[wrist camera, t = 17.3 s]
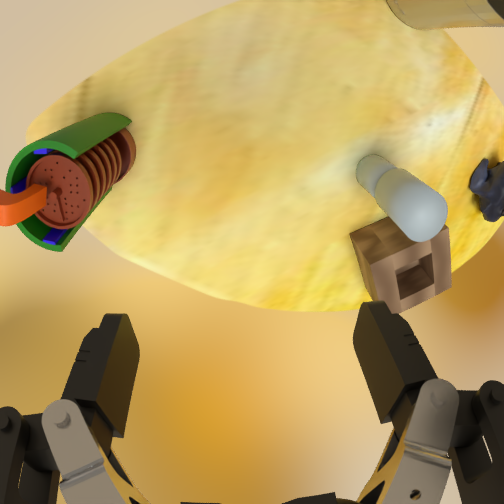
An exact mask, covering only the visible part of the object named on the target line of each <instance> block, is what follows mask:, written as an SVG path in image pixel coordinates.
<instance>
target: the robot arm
mask: <svg viewBox="0 0 504 504" xmlns="http://www.w3.org/2000/svg"><path fill="white" fill-rule="evenodd" d="M387 2H388V4H389V6H390V8H391V10H392V11H393V12H394V13H395V15H396V16H397V17H398V18H399V19H400V20H401V21H403V22H404V23H405V24H407V25H409V26H411V27H413V28H416V29H419V30H430V29H442V28H457V27H489V26H490V27H495V26H496V27H504V0H387ZM353 345H354V349H355V352H356V355H357V358H358V360H359V363H360V366H361V368H362V371H363V374H364V377H365V379H366V382H367V385H368V388H369V390H370V393H371V396H372V399H373V402H374V405H375V408H376V411H377V413H378V417H379V420H380V423H381V424H383V423H387V422H391V421H392V423H393V426H394V428H393V430H392V432H391V435H390V437H389V440H388V442H387V444H386V446H385V449H384V451H383V453H382V456H381V458H380V460H379V463H378V465H377V467H376V469H375V471H374V473H373V475H372V477H371V478H370V480H369V481H368V482H367V484H366V485H365V487H364V489H363V490H362V492H361V494H360V496H359V497H358V499H357V501H352V500H348V499H340V498H336V496H335V492H333V493H327V494H322V495H316V496H309V497H302V498H297V499H294V500H291V501H288V502H285V503H282V504H439V503H440V500H441V498H442V495H443V492H444V489H445V486H446V483H447V479H448V476H449V473H450V470H451V465H452V469H453V472H454V476H455V479H456V483H457V486H458V490H459V493H460V497H461V501H462V504H504V384H502V383H500V382H498V381H493V380H490V381H487V382H485V383H484V384H483V385H482V386H481V388H480V389H479V390H478V391H466V390H464V391H463V390H456V388H455V387H454V386H453V385H452V384H451V383H449V382H448V381H446V380H443V379H439V378H438V377H437V375H436V373H435V371H434V369H433V367H432V366H431V364H430V362H429V360H428V358H427V356H426V354H425V352H424V351H423V349H422V347H421V345H419V341H418V339H417V338H416V336H414V333H413V331H412V329H411V327H410V325H409V324H408V322H407V321H406V320H405V319H403V318H402V317H401V316H400V315H399V314H398V313H394V314H392V313H391V311H390V309H389V308H388V306H387V304H386V303H385V301H383V300H380V301H371V302H363V303H362V304H361V307H360V310H359V314H358V318H357V322H356V326H355V330H354V334H353ZM139 351H140V350H139V344H138V342H137V339H136V336H135V333H134V330H133V328H132V325H131V322H130V319H129V317H128V315H127V314H105V315H104V317H103V319H102V322H101V324H100V327H99V328H93V329H92V330H91V331H90V332H89V333H88V334H87V335H86V336H85V337H84V339H83V341H82V344H81V346H80V349H79V352H78V354H77V356H76V359H75V360H76V361H75V362H74V364H73V367H72V369H71V372H70V375H69V378H68V381H67V383H66V386H65V389H64V392H63V394H62V397H61V399H60V400H57V401H54V402H53V403H51V404H50V405H48V406H47V408H46V409H45V411H44V412H43V413H39V414H32V415H24V416H22V415H21V414H20V413H19V412H18V411H17V410H16V409H15V408H13V407H8V406H7V407H2V408H0V504H56V501H57V492H58V486H59V485H60V490H61V493H62V495H63V497H64V499H65V501H66V503H67V504H150V503H149V501H148V500H147V499H146V498H145V497H144V496H143V494H142V493H141V492H140V491H139V490H138V488H137V487H136V486H135V484H134V483H133V481H132V480H131V478H130V476H129V475H128V473H127V472H126V470H125V469H124V467H123V465H122V463H121V462H120V460H119V458H118V457H117V455H116V453H115V452H114V450H113V448H112V447H111V442H112V437H118V438H124V432H125V426H126V421H127V415H128V410H129V405H130V400H131V395H132V390H133V386H134V381H135V377H136V372H137V368H138V363H139V357H140V352H139ZM483 435H484V438H485V440H486V443H487V446H488V449H489V452H490V454H491V457H492V462H491V459H490V456H489V454H488V451H487V448H486V446H485V443H484V440H483V438H482V436H483ZM447 453H448V456H449V457H448V456H447ZM22 464H23V467H22ZM21 468H22V472H21ZM60 473H61V475H62V478H63V480H62V481H61V482H60V483H59V478H60ZM20 474H21V477H20ZM19 479H20V482H19ZM18 484H19V488H18ZM181 504H220V503H189V502H181Z"/></svg>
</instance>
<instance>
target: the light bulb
mask: <svg viewBox="0 0 504 504" xmlns="http://www.w3.org/2000/svg"><path fill="white" fill-rule="evenodd" d="M356 177H357V180H358V182H359V183H360V184H361V185H362V186H363V187H364V188H365V189H366V190H367V191H368V192H369V193H370V194H371V195H372V196H373V197H374V198H375V199H376V202H377V204H378V205H379V207H380V208H381V209H382V210H383V211H384V212H385V213H386V214H387V215H388V216H389V217H390V218H391V219H392V220H393V221H394V222H395V223H396V224H397V226H398V227H399V228H400V229H401V230H402V231H403V232H404V233H405V234H406V235H407V236H408V238H410V239H411V240H413V241H416V242H423V241H427V240H429V239H431V238H433V237H434V236H435V235H437V234H438V233H439V232H440V230H441V229H442V227H443V226H444V224H445V221H446V218H447V212H448V209H447V203H446V201H445V199H444V198H443V196H442V195H440V194H439V193H438V192H436V191H435V190H433V189H432V188H431V187H429V186H428V185H426V184H425V183H424V182H422V181H421V180H419V179H418V178H416V177H415V176H414V175H412V174H411V173H409V172H408V171H406V170H404V169H399V168H397V167H396V166H394V165H393V164H391V163H390V162H388V161H387V160H385V159H384V158H382V157H380V156H378V155H368V156H366V157H364V158H363V159H362V160H361V161H360V162H359V164H358V166H357V169H356Z"/></svg>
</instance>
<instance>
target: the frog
mask: <svg viewBox="0 0 504 504" xmlns="http://www.w3.org/2000/svg"><path fill="white" fill-rule="evenodd" d="M487 166H488V159H483V160H482V161H481V163H480V165H479V166H478V167H477V169H476V170H475V172H474V174H473V176H472V179H471V185H470V190H471V191H472V192H473V193H475V194H477V195H479V204H480V210H481V212H482V213H483V217H484V219H485V220H487V221H490V222H495V221H497V220H498V219H499V218H500V217H501V216H504V161H503V162H502V163H501V162H499V163H498V166H496V167H494V168H492V169H489V168H488V169H487Z"/></svg>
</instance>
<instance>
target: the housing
mask: <svg viewBox="0 0 504 504" xmlns="http://www.w3.org/2000/svg"><path fill="white" fill-rule="evenodd" d="M350 237H351V240H352V243H353V246H354V249H355V252H356V256H357V259H358V262H359V266H360V269H361V272H362V276H363V279H364V283H365V286H366V289H367V291H368V292H369V294H370V296H371V298H372V300H373V301H380V300H383V301H385V303H386V304H387V306H388V308H389V309H390V311H391V313H392V314H394V313H398V314H399V313H401V312H403V311H405V310H407V309H410V308H412V307H414V306H416V305H418V304H420V303H422V302H424V301H426V300H428V299H430V298H432V297H434V296H436V295H438V294H439V293H441V292H443V291H445V290H447V289H449V288H451V255H450V239H449V228H448V227H447V226H446V225H445V224H444V226H443V227H442V229H441V230H440V232H439V233H438V234H437V235H435V236H434V237H433V238H431V239H429V240H427V241H423V242H416V241H413V240H411V239H410V238H408V236H407V235H406V234H405V233H404V232H403V231H402V230H401V229H400V228H399V227H398V226H397V224H396V223H395V222H394V221H393V220H392V219H391V218H390V217H386V218H384V219H382V220H380V221H377V222H375V223H373V224H371V225H368V226H366V227H364V228H362V229H359V230H357V231H355V232H352V233H350Z"/></svg>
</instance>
